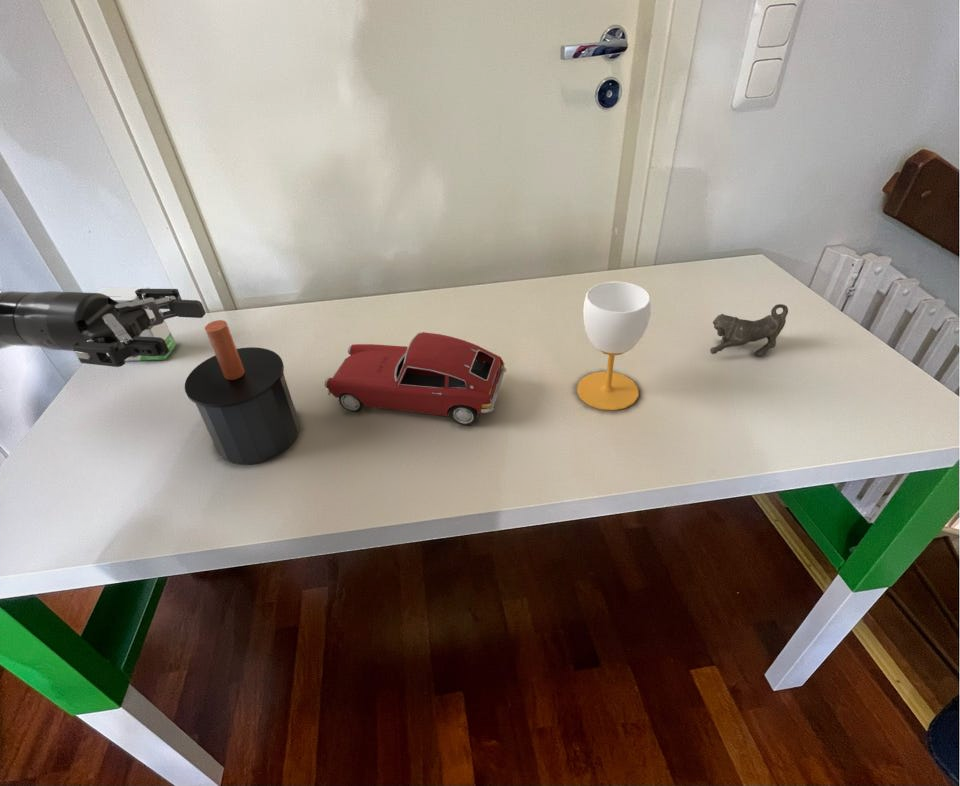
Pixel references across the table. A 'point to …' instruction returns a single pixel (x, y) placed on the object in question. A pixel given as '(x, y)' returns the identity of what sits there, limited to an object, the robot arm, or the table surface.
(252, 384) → the lid
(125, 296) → the ink box
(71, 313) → the robot arm
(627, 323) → the cup
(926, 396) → the table surface
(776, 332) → the dog figurine
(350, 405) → the toy car
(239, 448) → the canister
